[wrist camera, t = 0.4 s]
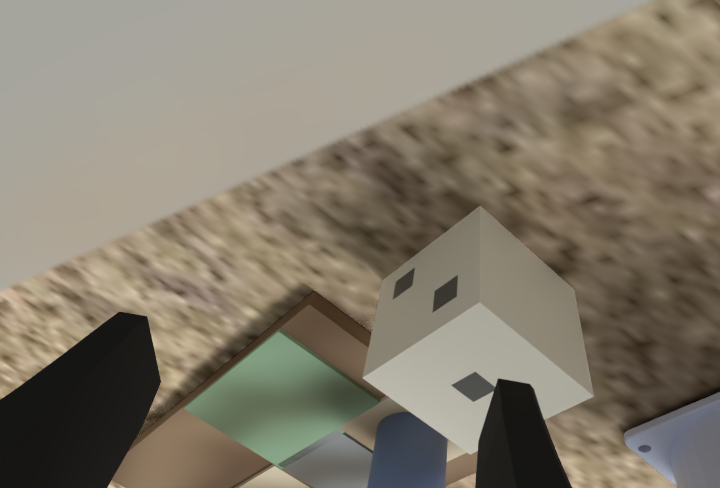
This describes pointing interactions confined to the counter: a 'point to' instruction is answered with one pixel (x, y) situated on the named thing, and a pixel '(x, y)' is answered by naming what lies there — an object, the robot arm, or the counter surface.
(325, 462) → the board
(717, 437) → the robot arm
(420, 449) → the blue cylinder
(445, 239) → the beige cube
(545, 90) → the counter surface
